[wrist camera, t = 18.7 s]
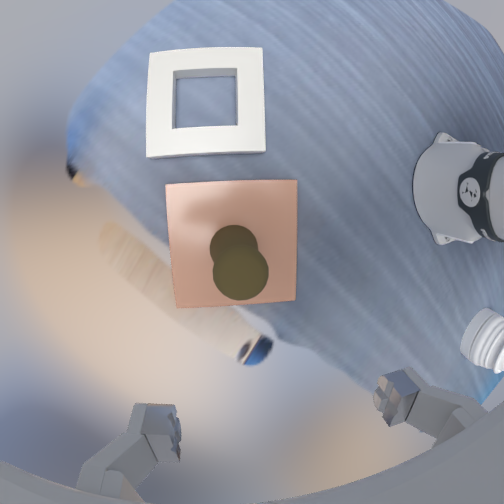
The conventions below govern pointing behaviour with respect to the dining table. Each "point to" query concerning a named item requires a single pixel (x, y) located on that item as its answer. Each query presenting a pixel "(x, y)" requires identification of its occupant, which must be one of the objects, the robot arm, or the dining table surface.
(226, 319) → the dining table surface
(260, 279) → the olive pawn
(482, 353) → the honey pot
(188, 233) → the terracotta tile
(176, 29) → the dining table surface
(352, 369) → the dining table surface
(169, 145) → the frame
